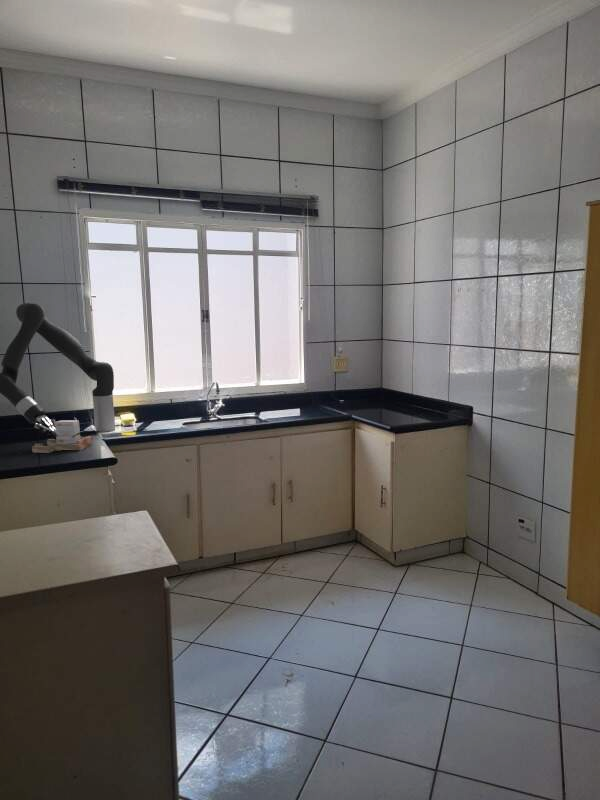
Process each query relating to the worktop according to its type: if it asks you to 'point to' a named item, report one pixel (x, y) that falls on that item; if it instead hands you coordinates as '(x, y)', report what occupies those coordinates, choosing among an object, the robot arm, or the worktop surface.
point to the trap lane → (62, 445)
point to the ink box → (67, 431)
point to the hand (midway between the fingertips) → (59, 438)
